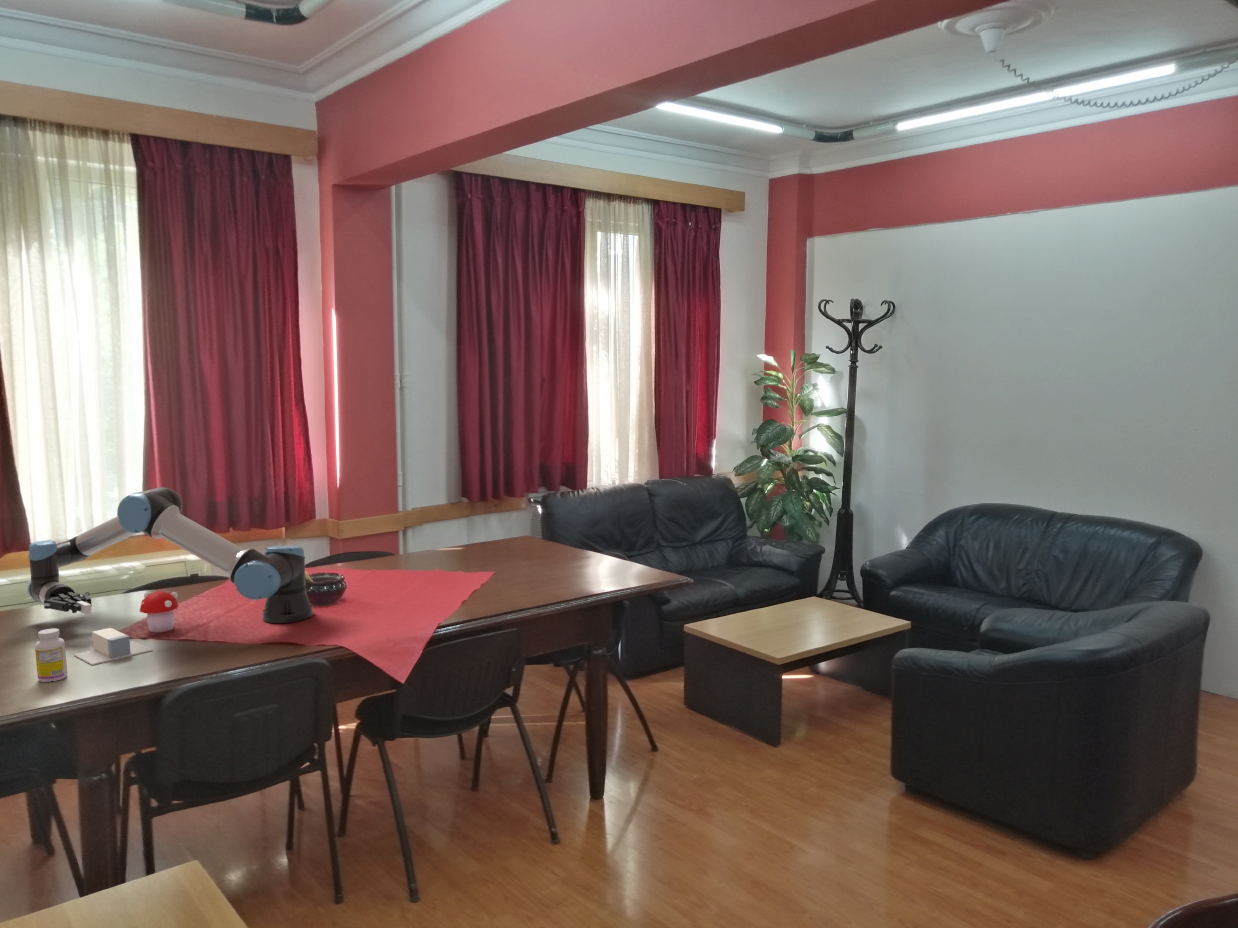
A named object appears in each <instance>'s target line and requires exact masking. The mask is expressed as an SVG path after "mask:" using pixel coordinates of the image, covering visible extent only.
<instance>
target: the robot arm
mask: <svg viewBox="0 0 1238 928" xmlns="http://www.w3.org/2000/svg"><path fill="white" fill-rule="evenodd" d="M182 510H183V500H182V499H181V496H180V495H179V494H178V492H177V491H175V490H173V489H171V488H168V487H163V486H161V487H156V488H151V489H147V490H143V491H139V492H133V493H131V494H128V495H126V496H124V497H123V498H122V499H121V500H120V502H119V504H118V506H117V513H116V515H117V516H116V517H113V518H111V519H109V520H107V521H105V522H103V523H101V524H98V525H97V526H95V527H92V528H91V529H88V530H87V531H84V532H83V533H80V534H78V535H76V536H74V537H72V538H70V539H69V540H65V541H63V542H60V543H57V542H56V541H55V540H49V539H48V540H47V539H46V540H40V541H34V542H31V543H30V544H29V545H28V560H29V571H30V582H29V584H28V586H27V593H28V596H30V598H32V599H33V600H34V601H35V602H37V603H41V604H43V609H47V610H48V609H50V610H55V611H59V612H60V611H61V612H67V613H68V612H69V611H71V612H72V614H77V613H78V612H79V613H80V614H81V613H82V614H84V615H92V607H93V606H92V598H91V596H90V595H91V594H90V591H86V592H84V593H82V594H80V593H78V592H77V593H76V591H74V589H73V588H72V587H70V586H68V585H65V584H63V583H61V582H60V572H59V568H62V567H66V566H69V565H73V564H74V563H79V562H82V561H84V560H86V559H88V558H89V559H90V557H91V556H92V555H94V554H96V553H99V552H100V551H103V550H105V549H106V548H109V547H110V546H112V545H115V544H116V543H119V542H121V541H123V540H126V539H127V538H129V537H132V536H133V535H136V534H139V533H143V534H145V535H147V536H148V537H151V538H153V539H154V540H160V539H165V540H167V541H168V542H170V543H172V544H174V545H175V546H176V547H177V546H178V547H179V548H180V549H183V550H184V551H187V552H188V553H189V554H192V555H194V556H195V557H197V558H198V559H201V560H202V561H204V562H205V563H207V564H209V565H211V566H212V567H214V568H217V569H219V570H220V571H222V572H224V573H225V574H227V575H228V578H229V581H230V582H231V583H232V584H234V586H235V587H236V591H237V592H238V593H239V594H240V595H241V596H242V597H244V598H246V599H249V600H254V601H255V600H256V601H259V600H263V599H265V603H264V609H262V620H263V621H264V622H266V623H270V624H288V623H296V622H300V621H301V622H302V621H305V620H308V619H310V618H311V617H313V615H314V611H313V606H312V605H311V602H310V598H309V596H308V594H307V588H306V584H307V583H306V564H305V563H306V562H305V561H306V560H305V559H306V556H305V553H304V551H305V550H304V548H303V547H301V546H299V545H275V546H274V545H273V546H267V547H266V548H265V549H264V553H262V552H260V551H258V550H256V549H254V548H247V549H244V548H243V547H240V546H239V545H237V544H235V543H233V542H231V541H229V540H228V539H227V538H224V537H222V536H220V535H218V534H217V533H215V532H214V531H213V530H210V529H208V528H206V527H205V526H203V525H201V524H199V523H197V522H196V521H194V520H192V519H190V518H188V517H187V516H185V515H183V514H181V513H182V512H183V511H182Z"/></svg>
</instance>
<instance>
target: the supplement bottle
mask: <svg viewBox="0 0 1238 928" xmlns="http://www.w3.org/2000/svg"><path fill="white" fill-rule="evenodd" d="M60 634H61V633H60V629H59V628H46V629H41V630H39V631H38V633H37V635H38V638H39V640H38V641H37V642H36V643H35V645H34V652H35V661H36V673H37V680H38V681H39V682H41V683H52V682H51V681H54V682H58V681H61V680H64V679H65V678H66V677H67V676H68V665H67V654H66V652H67V651H66V642H65V640H64V639H63V638H61V637H60ZM57 680H58V681H57Z"/></svg>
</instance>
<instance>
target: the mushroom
mask: <svg viewBox="0 0 1238 928" xmlns="http://www.w3.org/2000/svg"><path fill="white" fill-rule="evenodd" d="M178 597H179V594H178V592H177V591H176V592H175V591H173V592H171V593H169V592H166V591H164V590H160V591H159V590H157V591H154V592H150V591H146V592H145V593H144V594H143V599H142V600H141V604H140V608H139V612H140V613H143V614H146V622H147V625H148V630H149V632H151V633H164V632H168V631H171V630H172V629H174V626H175V617H176V616H175V612H174V610H177V609H178V608H179V603H178V600H177V599H178Z"/></svg>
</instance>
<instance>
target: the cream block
mask: <svg viewBox="0 0 1238 928" xmlns="http://www.w3.org/2000/svg"><path fill="white" fill-rule="evenodd" d="M91 638H92V639H91V640H92V650H97V651H99V652H101V653H103V654H105V655H107V656H109V657H111V658H114V657H118V656H123V655H127V654H131V652H130V641H131V640H130V636H129V635H128V634H125V633H123V632H121V631H119V630H116V629H114V628H112V627H106V628H102V629H98V630H94V631H91Z"/></svg>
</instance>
